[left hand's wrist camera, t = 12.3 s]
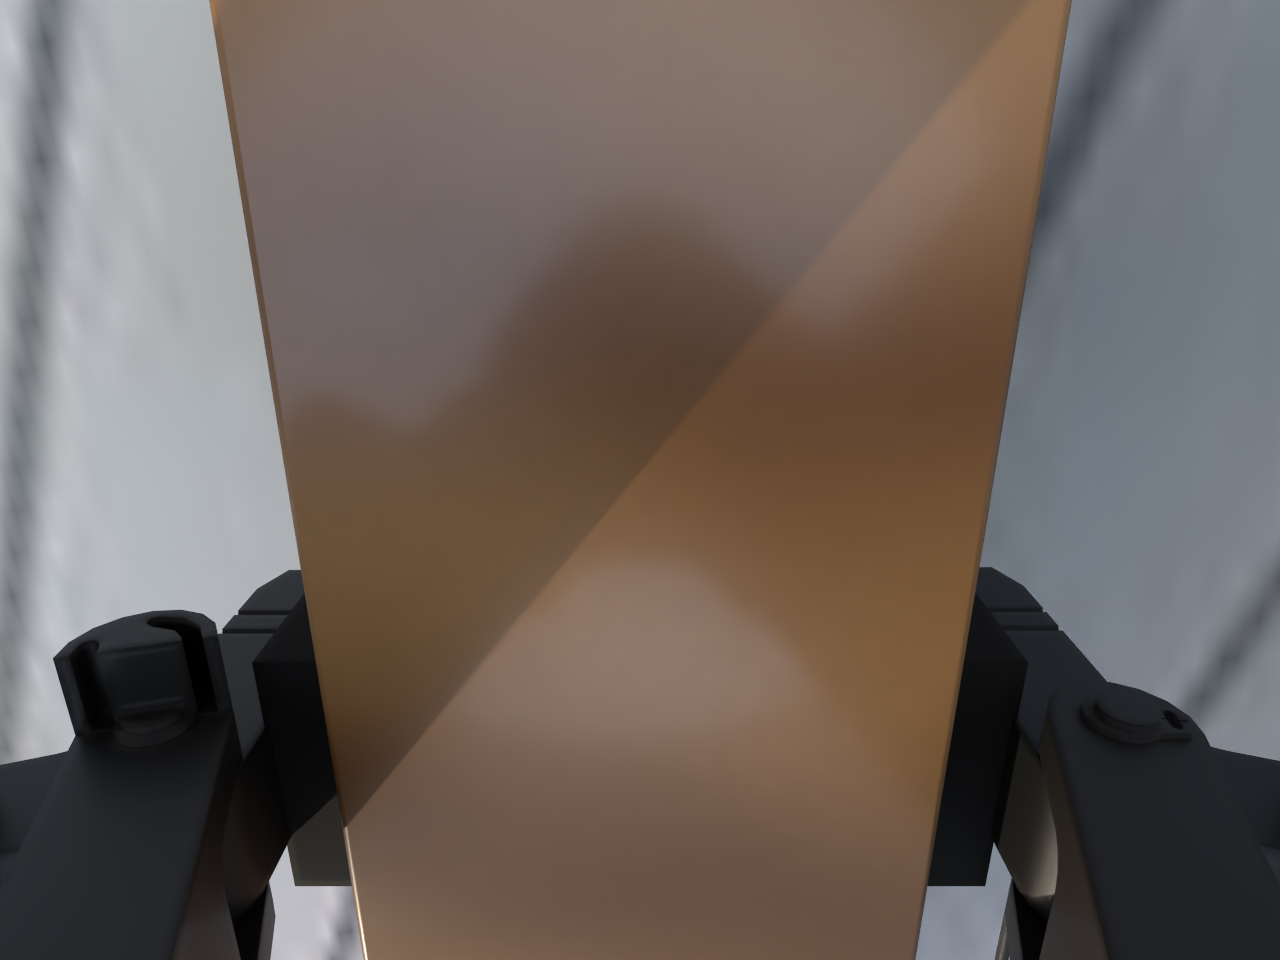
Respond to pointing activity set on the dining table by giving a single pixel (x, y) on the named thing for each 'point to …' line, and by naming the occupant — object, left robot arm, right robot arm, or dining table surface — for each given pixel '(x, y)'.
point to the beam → (640, 444)
